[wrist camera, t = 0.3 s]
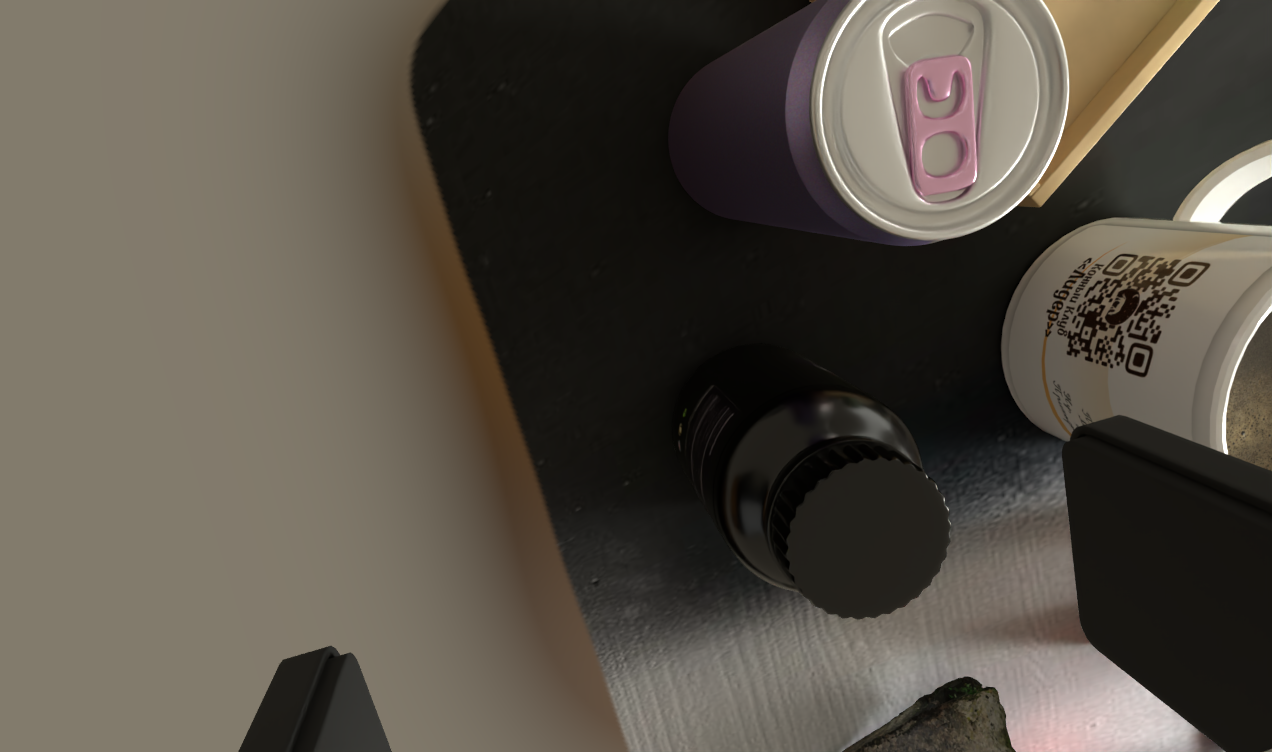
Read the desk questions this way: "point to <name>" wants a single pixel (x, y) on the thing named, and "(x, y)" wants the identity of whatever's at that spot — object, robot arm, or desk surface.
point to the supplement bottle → (810, 481)
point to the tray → (1109, 67)
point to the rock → (945, 723)
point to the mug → (1154, 322)
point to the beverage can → (877, 118)
